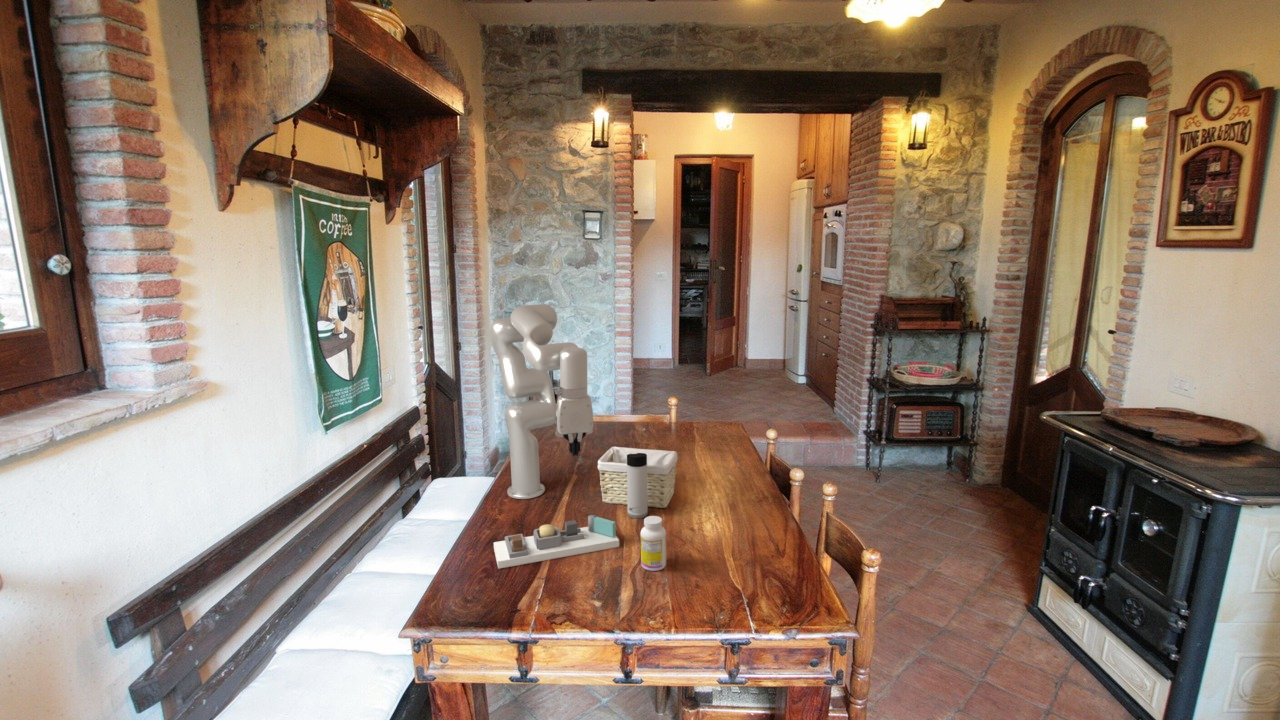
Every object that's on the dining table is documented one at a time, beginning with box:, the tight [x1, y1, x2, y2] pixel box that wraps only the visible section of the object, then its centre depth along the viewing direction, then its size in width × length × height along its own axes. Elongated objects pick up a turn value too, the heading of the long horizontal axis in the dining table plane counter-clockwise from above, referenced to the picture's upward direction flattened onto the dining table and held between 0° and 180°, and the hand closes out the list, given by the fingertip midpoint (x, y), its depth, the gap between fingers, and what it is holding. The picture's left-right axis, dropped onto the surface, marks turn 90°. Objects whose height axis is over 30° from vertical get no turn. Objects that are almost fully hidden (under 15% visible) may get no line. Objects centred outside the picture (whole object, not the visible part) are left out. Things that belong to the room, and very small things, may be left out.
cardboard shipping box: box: [512, 533, 523, 552], centre depth 158 cm, size 3×2×4 cm
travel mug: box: [626, 453, 649, 519], centre depth 183 cm, size 6×7×20 cm
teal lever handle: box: [587, 514, 617, 537], centre depth 169 cm, size 9×2×4 cm, turn 59°
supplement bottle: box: [640, 515, 667, 572], centre depth 154 cm, size 7×7×13 cm
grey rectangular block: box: [564, 519, 578, 537], centre depth 167 cm, size 2×3×4 cm
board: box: [493, 524, 620, 570], centre depth 164 cm, size 11×33×6 cm, turn 109°
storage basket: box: [597, 446, 679, 509], centre depth 197 cm, size 24×16×15 cm
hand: (574, 454), depth 169 cm, fingers closed
